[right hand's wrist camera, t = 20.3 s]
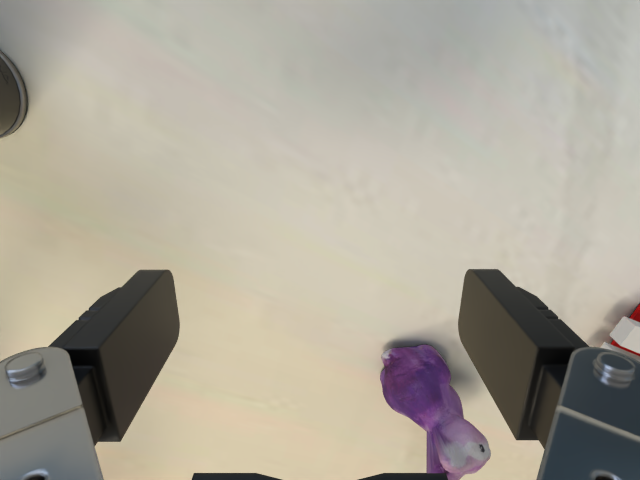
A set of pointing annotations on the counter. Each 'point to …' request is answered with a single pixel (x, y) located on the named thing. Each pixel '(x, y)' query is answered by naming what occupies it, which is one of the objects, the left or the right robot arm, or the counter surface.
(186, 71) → the counter surface
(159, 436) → the counter surface
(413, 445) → the counter surface
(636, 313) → the toy
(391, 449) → the counter surface
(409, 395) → the figurine
